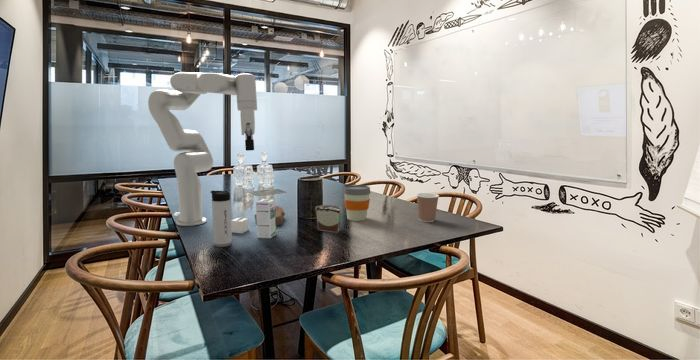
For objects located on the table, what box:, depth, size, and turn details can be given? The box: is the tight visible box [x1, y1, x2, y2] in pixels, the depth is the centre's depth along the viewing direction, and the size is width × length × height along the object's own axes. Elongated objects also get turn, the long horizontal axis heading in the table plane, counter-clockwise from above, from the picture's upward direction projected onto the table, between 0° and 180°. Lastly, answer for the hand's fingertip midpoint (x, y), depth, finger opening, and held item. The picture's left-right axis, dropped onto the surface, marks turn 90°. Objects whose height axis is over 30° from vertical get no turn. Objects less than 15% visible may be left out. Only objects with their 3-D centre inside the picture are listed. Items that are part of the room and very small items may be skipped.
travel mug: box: [210, 189, 233, 248], centre depth 138 cm, size 6×7×20 cm
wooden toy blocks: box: [254, 204, 286, 226], centre depth 173 cm, size 8×13×18 cm
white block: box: [231, 217, 250, 234], centre depth 156 cm, size 5×5×5 cm
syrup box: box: [255, 198, 277, 239], centre depth 149 cm, size 6×6×14 cm
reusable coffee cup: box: [343, 184, 371, 222], centre depth 179 cm, size 13×13×15 cm
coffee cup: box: [416, 192, 440, 223], centre depth 176 cm, size 10×10×12 cm
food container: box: [314, 204, 343, 234], centre depth 159 cm, size 12×6×10 cm, turn 65°
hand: (250, 149), depth 152 cm, fingers open, 9 cm apart
